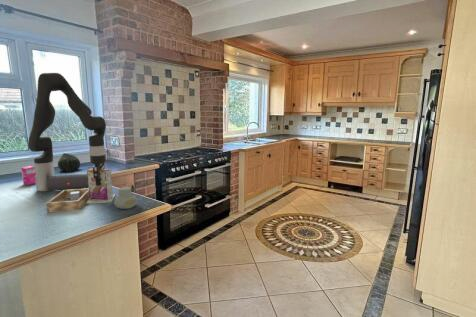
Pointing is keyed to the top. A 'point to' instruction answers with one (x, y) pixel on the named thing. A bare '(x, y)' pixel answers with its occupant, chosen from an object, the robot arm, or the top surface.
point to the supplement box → (28, 175)
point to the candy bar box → (102, 190)
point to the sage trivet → (100, 200)
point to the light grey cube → (75, 195)
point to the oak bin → (58, 205)
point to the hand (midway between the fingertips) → (100, 183)
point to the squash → (68, 162)
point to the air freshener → (125, 198)
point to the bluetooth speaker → (67, 182)
